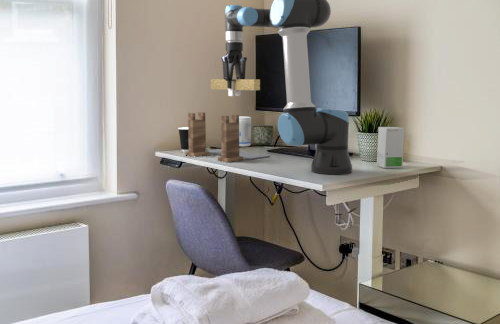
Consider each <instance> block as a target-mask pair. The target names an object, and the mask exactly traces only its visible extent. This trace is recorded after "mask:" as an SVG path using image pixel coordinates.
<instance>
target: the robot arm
mask: <svg viewBox="0 0 500 324" xmlns="http://www.w3.org/2000/svg"><path fill="white" fill-rule="evenodd" d="M224 11H225V12H224V19H225V51H226V55H224V56H221V62H222V76H223V77H222V79H224V80H226V81H227V88H228V90H227V92H228V94H227V95H228V97H235V96H236V97H240V96H242V95H241V93H242V90H234V81H232V79H233V77H234V76H233V75H234V70H235V77H236V79H246V68H247V67H246V66H247V65H246V64H247V60H248V58H247V57H246V56H244V55H243V53H242V52H243V51H244V49H243V48H244V47H243V46H244V44H243V41H244V38H243V37H244V36H243V34H244V31H243V30H244V29H243V28H244V27H250V28H251V27H252V28H253V27H254V28H270V29H271V28H273V29H277V34H279V36H281V39H282V50H283V63H284V64H283V65H284V76H285V91H286V92H285V93H286V105H285V106H284V107H283V109H282V110H283V113H282V114H280V116H279V117H278V121H277V130H278V133H279V134H278V135H279V137H280V138H281V140H282V141H283V143H284V144H286V145H287V146H291V147H292V146H293V147H294V146H296V147H300V146H301V147H302V146H310V145H311V146H312V145H313V146H315V153H314V156H313V159H312V161H311V162H312V163H311V166H310V167H311V168H310V169H311V170H310V172H313V173H316V174H321V175H347V174H351V173H352V172H353V164H352V161H351V157H350V154H349V125H350V121H349V113H348V112H347V111H345V110H339V109H331V108H323V107H322V108H321V107H318V108H317V109H316V107H317V106H316V105H315V104H314V103H313V102H312V97H311V96H312V95H311V81H310V66H309V65H310V64H309V52H308V50H309V49H308V38H307V37H308V34H309V33H310V32H311V28H318V27H321V26H323V25H325V24H326V23H327V22H328V21H329V20H330V17H331V11H332V9H331V5H330V2H328V1H327V0H273V2H272V3H271V7H270V8H256V7H255V8H254V7H252V6H244V7H243V6H242V5H240V4H239V5H238V4H229V5H228V4H227V5H226V7H225V10H224ZM234 95H235V96H234Z"/></svg>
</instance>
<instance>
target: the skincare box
mask: <svg viewBox="0 0 500 324" xmlns="http://www.w3.org/2000/svg"><path fill="white" fill-rule="evenodd" d="M377 128H378V129H377V132H378V133H377V152H376V153H377V154H376V166H377V167H379V168H381V169H382V168H383V169H402V168H403V166H404V165H403V164H404V162H403V161H404V147H405V146H404V142H405V127H397V126H378V127H377Z"/></svg>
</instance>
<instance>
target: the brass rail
mask: <svg viewBox="0 0 500 324" xmlns="http://www.w3.org/2000/svg"><path fill="white" fill-rule="evenodd" d="M232 81H234V91H235V90H241V91H261V79H253V78H252V79H249V78H247V79H246V78H245V79H233V78H232ZM210 90H227V91H228V88H227V81H226V80H224V78H222V79H220V78H215V79H213V78H211V79H210Z"/></svg>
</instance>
